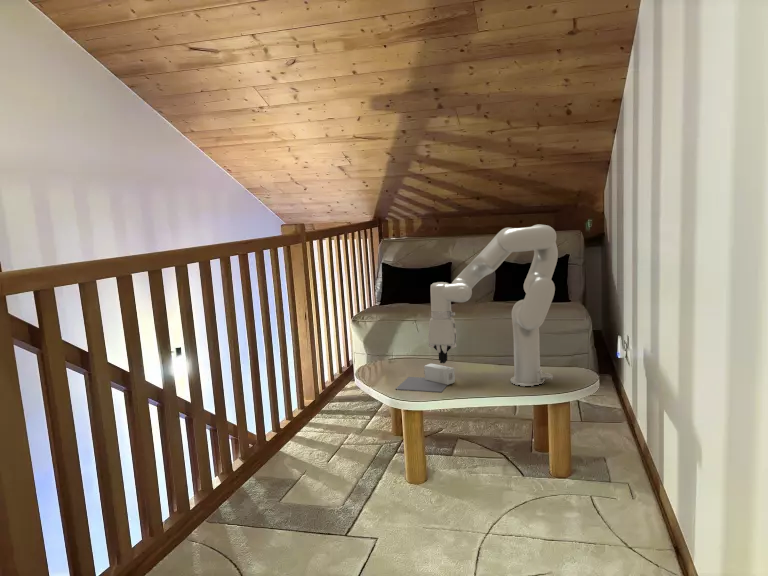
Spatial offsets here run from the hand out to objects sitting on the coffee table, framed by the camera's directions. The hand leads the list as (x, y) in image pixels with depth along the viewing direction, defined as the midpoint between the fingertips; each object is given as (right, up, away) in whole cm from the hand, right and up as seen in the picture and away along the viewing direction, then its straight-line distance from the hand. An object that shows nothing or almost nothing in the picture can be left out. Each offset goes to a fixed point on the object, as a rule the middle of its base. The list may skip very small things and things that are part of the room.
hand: (443, 362), depth 221 cm
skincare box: (+3, -6, +1) cm, 7 cm away
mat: (-7, -9, +4) cm, 12 cm away
